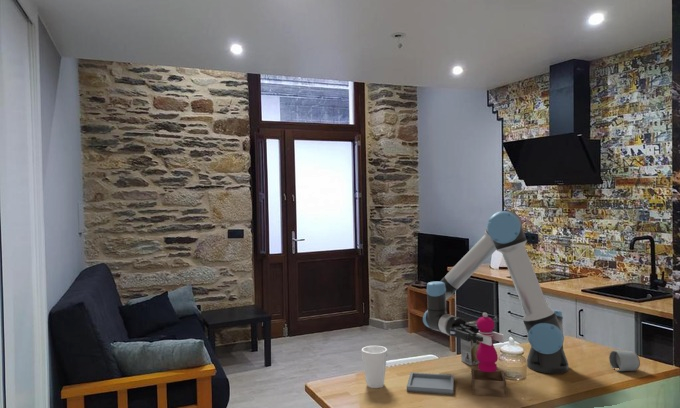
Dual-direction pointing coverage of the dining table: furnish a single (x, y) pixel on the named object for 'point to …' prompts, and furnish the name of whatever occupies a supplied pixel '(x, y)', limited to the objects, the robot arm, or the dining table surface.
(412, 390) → the slate tray
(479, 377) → the wooden box
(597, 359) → the dining table surface
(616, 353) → the grey slotted cylinder
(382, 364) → the foam cup
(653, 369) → the dining table surface
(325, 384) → the dining table surface
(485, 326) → the pepper mill
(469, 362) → the coffee box
